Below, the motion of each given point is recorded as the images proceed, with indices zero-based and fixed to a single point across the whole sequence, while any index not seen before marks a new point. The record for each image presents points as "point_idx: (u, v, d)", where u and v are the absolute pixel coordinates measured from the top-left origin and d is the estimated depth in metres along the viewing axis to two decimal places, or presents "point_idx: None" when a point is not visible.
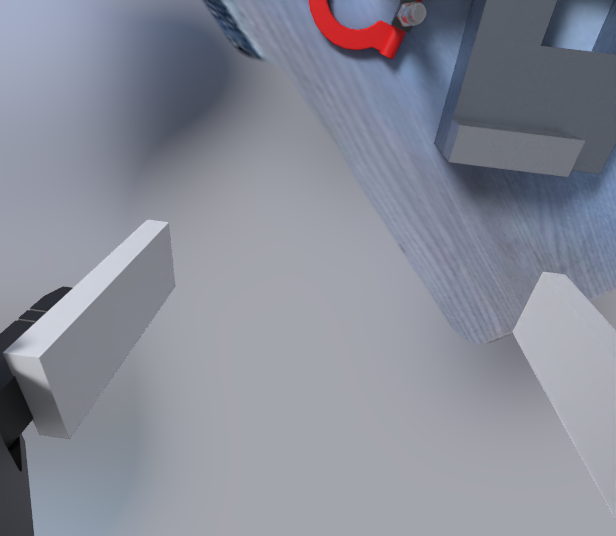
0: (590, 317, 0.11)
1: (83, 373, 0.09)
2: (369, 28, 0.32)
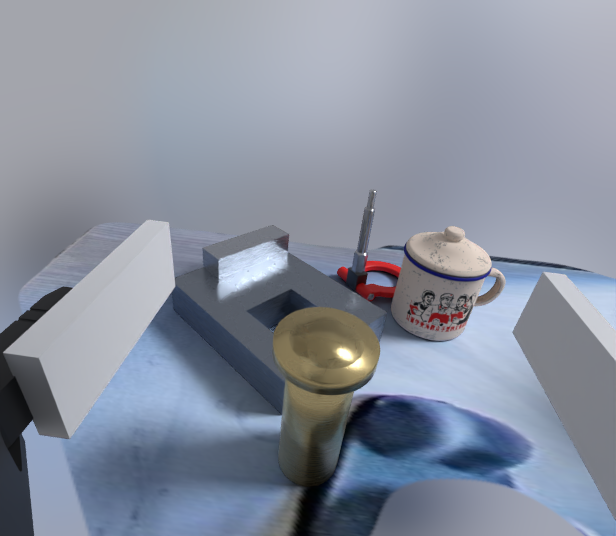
0: (590, 317, 0.11)
1: (83, 373, 0.09)
2: None
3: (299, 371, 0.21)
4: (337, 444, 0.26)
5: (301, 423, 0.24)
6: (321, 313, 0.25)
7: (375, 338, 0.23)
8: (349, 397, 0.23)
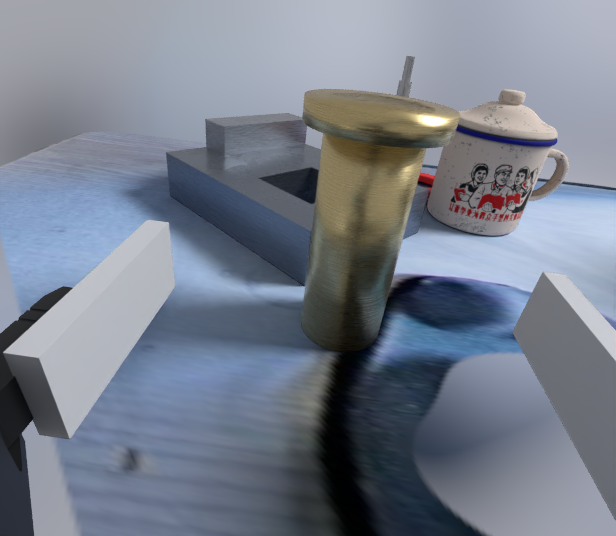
0: (590, 317, 0.11)
1: (83, 373, 0.09)
2: None
3: (348, 109, 0.14)
4: (386, 283, 0.19)
5: (341, 234, 0.17)
6: (368, 93, 0.18)
7: (449, 108, 0.16)
8: (411, 192, 0.16)
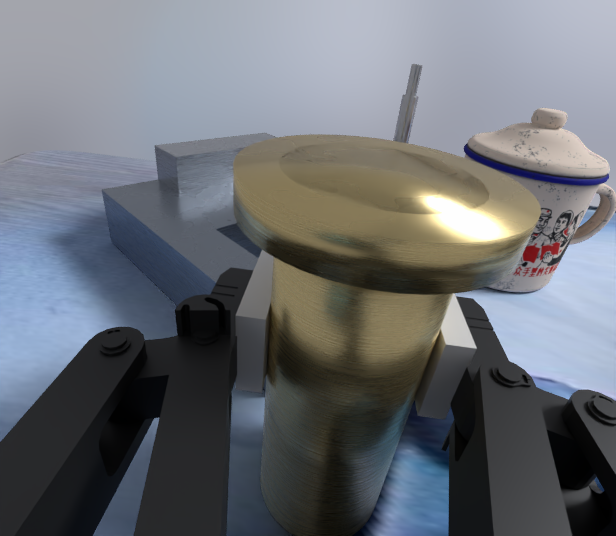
0: None
1: None
2: None
3: (309, 212, 0.06)
4: (390, 454, 0.11)
5: (311, 401, 0.09)
6: (358, 142, 0.10)
7: (506, 178, 0.09)
8: (436, 332, 0.09)
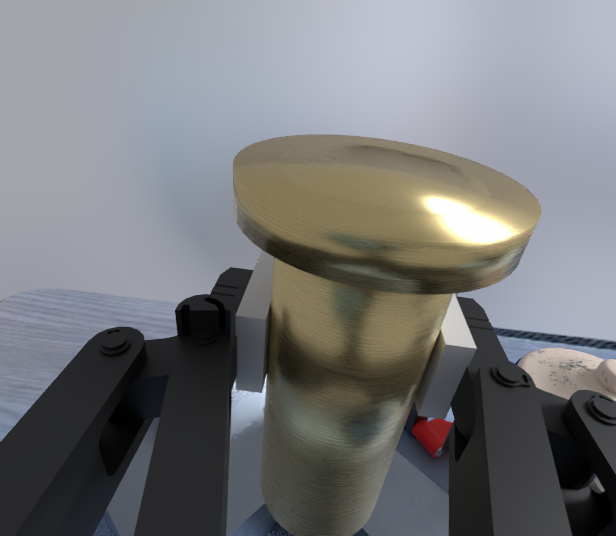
0: None
1: None
2: None
3: (309, 212, 0.06)
4: (390, 454, 0.11)
5: (311, 401, 0.09)
6: (358, 142, 0.10)
7: (506, 178, 0.09)
8: (436, 332, 0.09)
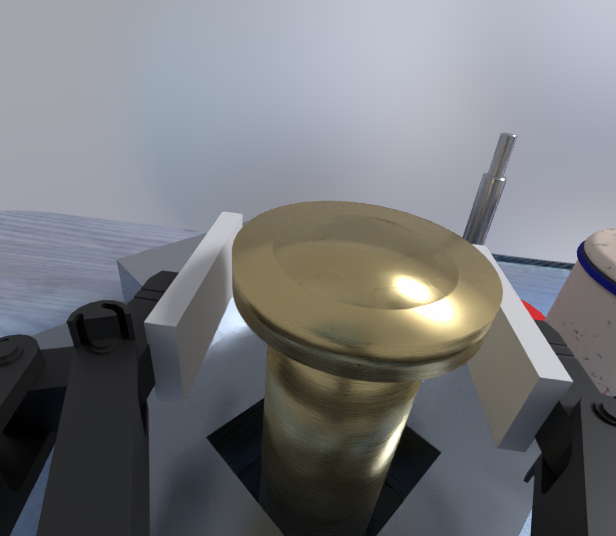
0: None
1: (194, 345, 0.10)
2: None
3: (296, 313, 0.07)
4: (377, 492, 0.12)
5: (302, 451, 0.10)
6: (347, 210, 0.11)
7: (478, 253, 0.10)
8: (415, 392, 0.10)
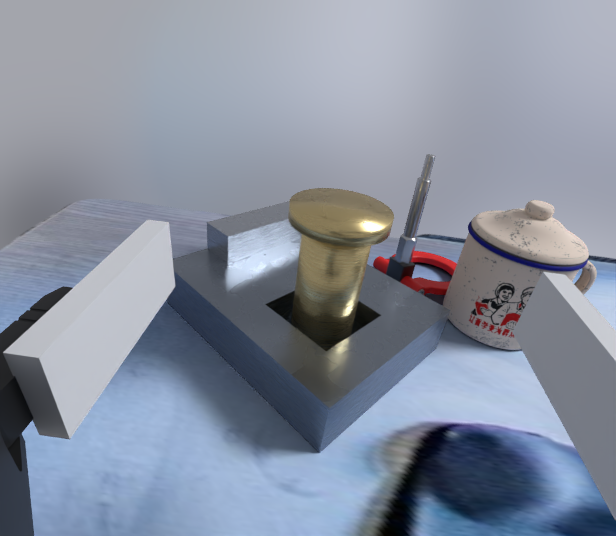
0: (590, 317, 0.11)
1: (83, 373, 0.09)
2: None
3: (316, 222, 0.21)
4: (348, 325, 0.26)
5: (315, 293, 0.24)
6: (335, 192, 0.25)
7: (389, 209, 0.24)
8: (362, 267, 0.24)
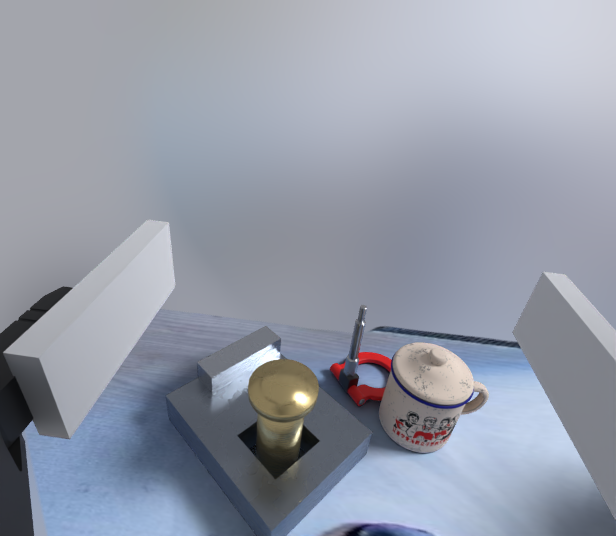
0: (590, 317, 0.11)
1: (83, 373, 0.09)
2: None
3: (263, 407, 0.32)
4: (294, 453, 0.38)
5: (268, 439, 0.36)
6: (282, 364, 0.37)
7: (316, 383, 0.35)
8: (299, 422, 0.35)
